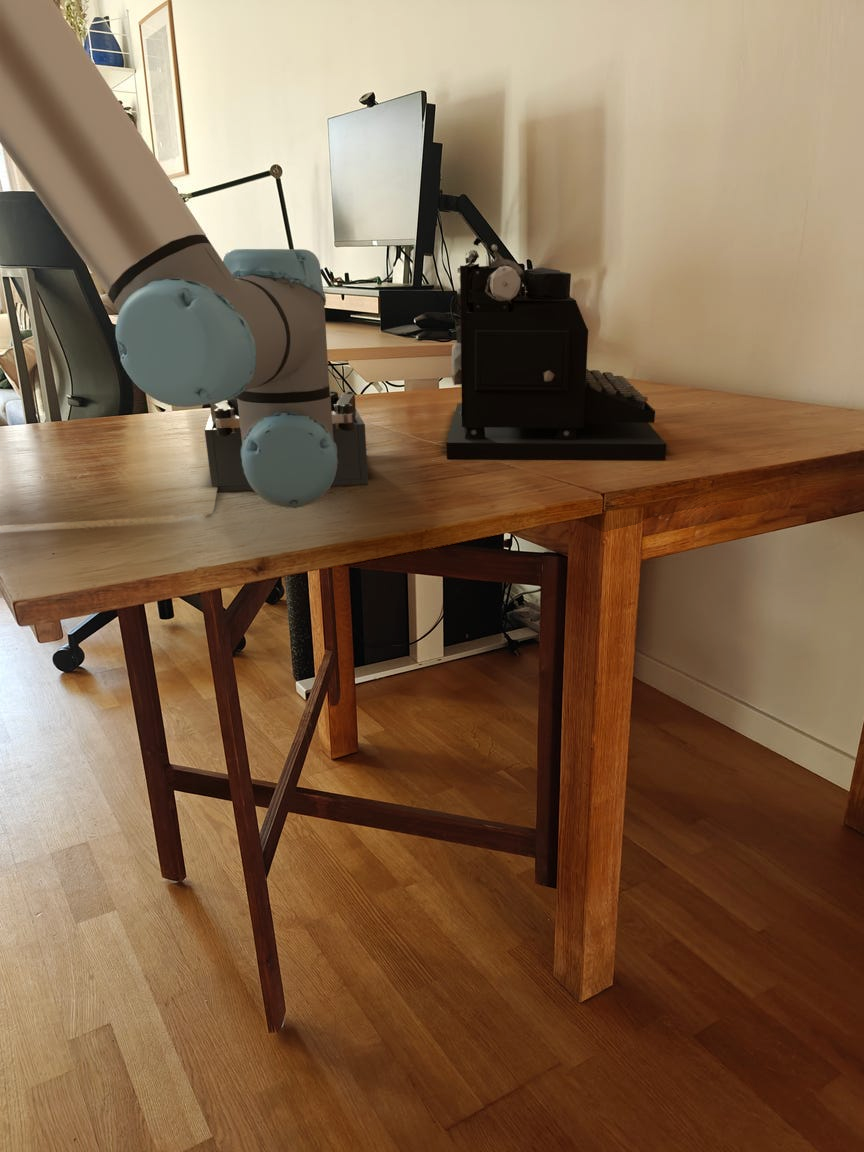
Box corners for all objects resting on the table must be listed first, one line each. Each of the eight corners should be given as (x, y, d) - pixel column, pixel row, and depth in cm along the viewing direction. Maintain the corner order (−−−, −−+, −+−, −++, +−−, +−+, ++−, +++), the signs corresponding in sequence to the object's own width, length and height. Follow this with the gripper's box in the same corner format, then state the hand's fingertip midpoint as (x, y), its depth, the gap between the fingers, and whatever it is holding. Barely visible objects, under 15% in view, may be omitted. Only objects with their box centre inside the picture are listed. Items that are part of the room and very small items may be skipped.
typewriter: (665, 460, 107) (685, 237, 96) (446, 458, 107) (443, 236, 97) (630, 417, 135) (643, 241, 125) (457, 416, 135) (456, 240, 125)
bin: (212, 492, 92) (204, 429, 89) (219, 461, 106) (212, 406, 103) (368, 484, 95) (364, 423, 93) (355, 455, 109) (352, 401, 106)
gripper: (176, 476, 81) (194, 431, 101) (399, 465, 85) (373, 424, 105) (164, 393, 78) (185, 365, 98) (396, 386, 82) (370, 360, 102)
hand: (282, 396), depth 101 cm, fingers closed on game die, 8 cm apart
